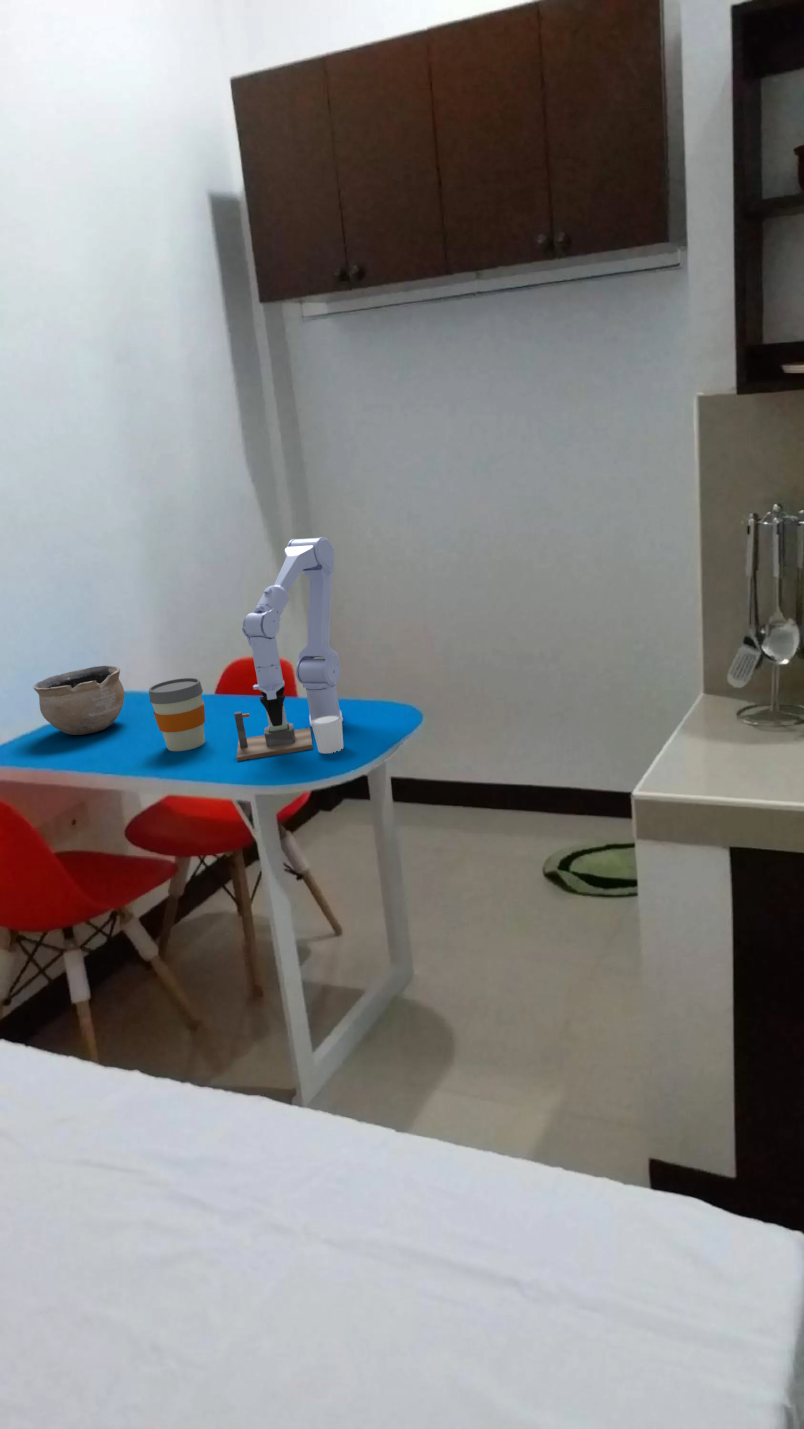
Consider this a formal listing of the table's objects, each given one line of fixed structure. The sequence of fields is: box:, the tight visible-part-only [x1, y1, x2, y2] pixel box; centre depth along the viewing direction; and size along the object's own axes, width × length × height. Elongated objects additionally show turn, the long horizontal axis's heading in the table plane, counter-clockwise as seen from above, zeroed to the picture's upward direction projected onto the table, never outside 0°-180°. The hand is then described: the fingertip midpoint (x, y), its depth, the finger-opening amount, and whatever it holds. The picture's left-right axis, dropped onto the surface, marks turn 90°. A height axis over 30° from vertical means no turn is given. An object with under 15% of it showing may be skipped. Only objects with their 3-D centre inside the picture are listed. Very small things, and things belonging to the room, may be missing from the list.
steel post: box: [265, 702, 288, 733], centre depth 249 cm, size 4×4×8 cm
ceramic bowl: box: [32, 665, 126, 736], centre depth 285 cm, size 22×22×15 cm
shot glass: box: [311, 715, 344, 755], centre depth 241 cm, size 7×7×7 cm
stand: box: [234, 711, 314, 762], centre depth 249 cm, size 14×17×9 cm
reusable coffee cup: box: [148, 677, 206, 752], centre depth 259 cm, size 13×12×15 cm
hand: (277, 721), depth 249 cm, fingers open, 5 cm apart
